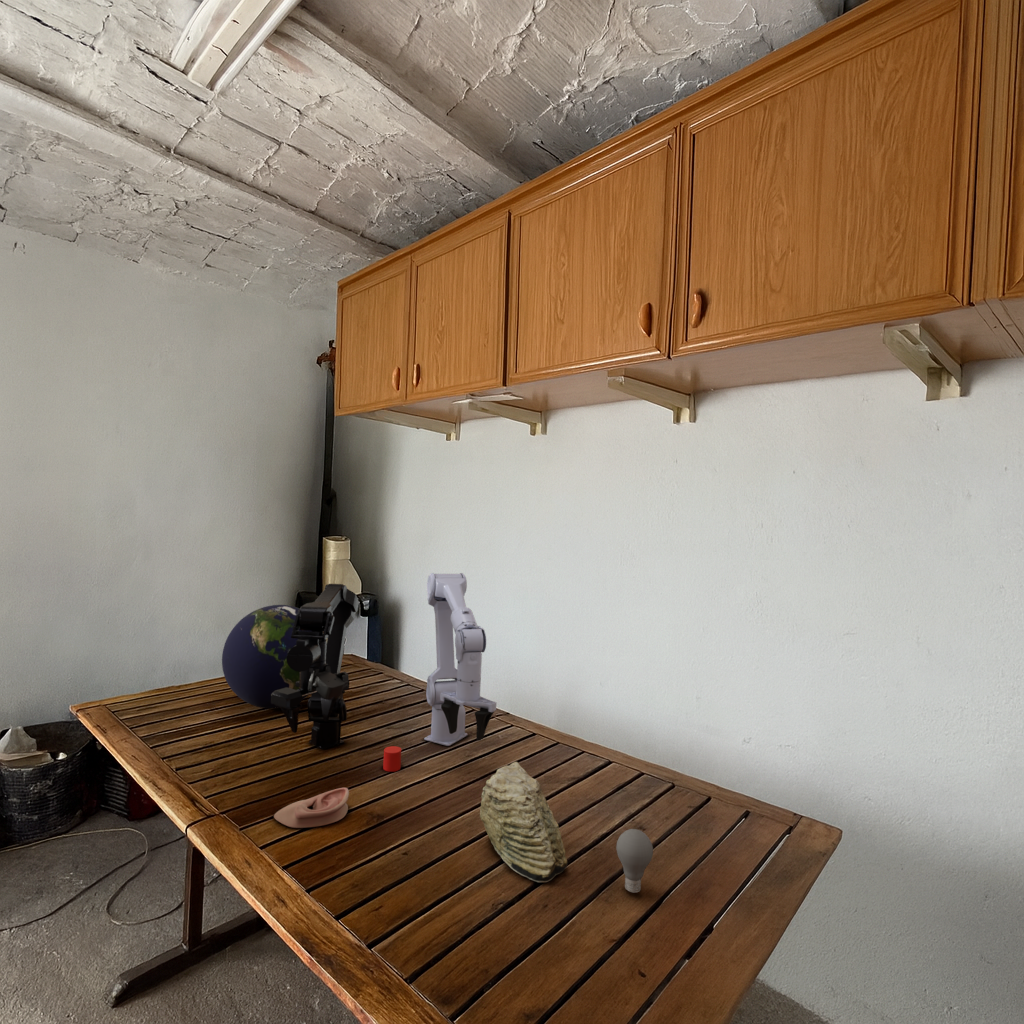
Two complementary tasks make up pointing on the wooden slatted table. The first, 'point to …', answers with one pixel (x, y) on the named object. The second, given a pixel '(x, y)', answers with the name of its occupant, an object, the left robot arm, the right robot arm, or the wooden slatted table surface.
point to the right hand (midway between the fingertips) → (466, 735)
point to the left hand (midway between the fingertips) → (310, 726)
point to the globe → (261, 655)
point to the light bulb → (634, 857)
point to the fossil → (522, 824)
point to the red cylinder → (392, 759)
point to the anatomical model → (315, 810)
